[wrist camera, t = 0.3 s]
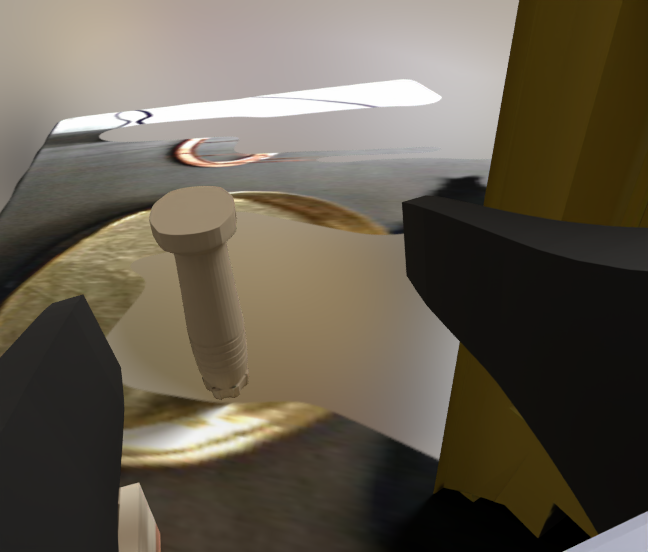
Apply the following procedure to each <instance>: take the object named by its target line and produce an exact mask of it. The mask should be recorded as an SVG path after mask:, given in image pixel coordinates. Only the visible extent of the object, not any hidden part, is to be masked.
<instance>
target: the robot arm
mask: <svg viewBox="0 0 648 552" xmlns="http://www.w3.org/2000/svg"><path fill="white" fill-rule="evenodd" d="M402 210H403V226H404V241H405V257H406V272H407V277H408V278H409V280H410V281H411V283H412V284H413V286H414V287H415V289H416V290H417V292H418V294H419V295H420V296H421V298H422V299H423V301H424V302H425V304H426V305H427V306H428V307H429V308H430V310H431V311H432V312H433V313H434V314H435V315H436V316H437V317H438V318H439V320H441V322H442V323H443V324H444V325H445V326H446V327H447V328H448V329H449V330H450V331H451V333H453V335H455V337H456V338H457V339H458V340H459V341H460V342H461V343H462V344H463V345H464V346H465V348H466V349H467V350H468V351H469V352H470V353H471V354H472V355H473V356H474V357H475V358H476V359H477V360H478V361H479V363H480V364H481V365H482V366H483V367H484V368H485V369H486V370H487V372H488V373H489V374H490V375H491V376H492V377H493V379H494V380H495V381H496V382H497V383H498V385H499V386H500V388H501V389H502V390H503V392H504V393H505V394H506V396H507V397H508V398H509V400H510V401H511V402H512V404H513V405H514V406H515V408H516V409H517V411H518V412H519V413H520V415H521V416H522V417H523V419H524V420H525V422H526V423H527V425H528V426H529V427H530V429H531V430H532V432H533V433H534V435H535V436H536V438H537V439H538V440H539V442H540V443H541V445H542V446H543V448H544V449H545V450H546V452H547V454H548V455H549V457H550V458H551V460H552V461H553V463H554V464H555V466H556V467H557V469H558V470H559V472H560V474H561V475H562V477H563V478H564V480H565V481H566V483H567V484H568V486H569V487H570V489H571V490H572V492H573V494H574V495H575V497H576V498H577V500H578V502H579V503H580V505H581V507H582V508H583V510H584V512H585V513H586V515H587V517H588V518H589V520H590V521H591V523H592V525H593V526H594V528H595V530H596V531H597V533H598V535H597V536H595V537H593V538H591V539H589V540H586V541H584V542H582V543H580V544H578V545H576V546H574V547H572V548H570V549H568V550H566V551H563V552H648V228H644V227H620V226H605V225H595V224H585V223H575V222H567V221H560V220H553V219H547V218H541V217H535V216H529V215H524V214H519V213H514V212H509V211H504V210H499V209H494V208H490V207H485V206H481V205H476V204H472V203H467V202H463V201H458V200H453V199H448V198H443V197H436V196H422V197H419V198H415V199H412V200H408V201H405V202H402ZM123 425H124V395H123V384H122V375H121V367H120V365H119V363H118V361H117V359H116V357H115V355H114V353H113V351H112V349H111V347H110V345H109V344H108V342H107V340H106V338H105V336H104V334H103V332H102V330H101V328H100V326H99V324H98V322H97V320H96V318H95V316H94V314H93V312H92V311H91V309H90V307H89V305H88V303H87V301H86V299H85V297H84V295H80V296H76V297H73V298H69V299H66V300H62V301H59V302H55V303H52V304H51V305H50V306H49V307H47V308H46V309H45V310H44V311H43V312H42V313H41V314H40V315H39V316H38V317H37V318H36V319H35V320H34V322H33V323H32V324H31V325H30V326H29V327H28V328H27V329H26V330H25V331H24V332H23V333H22V335H21V336H20V337H19V338H18V339H17V340H16V341H15V342H14V343H13V344H12V345H11V347H10V348H9V349H8V350H7V351H6V352H5V353H4V354H3V355H2V356H1V357H0V552H119V545H118V499H119V484H120V470H121V456H122V441H123Z"/></svg>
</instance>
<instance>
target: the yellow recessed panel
mask: <svg viewBox="0 0 648 552" xmlns="http://www.w3.org/2000/svg"><path fill="white" fill-rule="evenodd" d="M484 206H485V207H490V208H494V209H499V210H504V211H509V212H514V213H519V214H524V215H529V216H535V217H541V218H547V219H553V220H560V221H567V222H575V223H585V224H595V225H605V226H620V227H644V228H648V0H519V5H518V10H517V16H516V22H515V28H514V34H513V39H512V45H511V51H510V56H509V62H508V68H507V74H506V79H505V85H504V91H503V97H502V103H501V108H500V114H499V120H498V126H497V131H496V137H495V143H494V149H493V154H492V160H491V166H490V171H489V177H488V183H487V189H486V194H485V200H484ZM442 488H447V489H452V490H457V491H459V492H461V493H462V494H463V495H464V496H466V497H467V498H468V499H469V500H471V501H472V502H474V501H476V500H477V499H479V498H480V497H482V498H485V499H488V500H491V501H494V502H497V503H500V504H503V505H505V506H506V507H507V508H508V509H509V510H510V511H511V512H512V513H513V514H514V515H515V516H516V517H517V518H518V519H519V520H520V521H521V522H522V523H523V524H524V525H525V526H526V527H527V528H528V529H529V530H530V531H531V532H532V533H533V534H534V535H535V536H536V537H537V538H539V537H541V536H542V535H543V534H544V533H546V532H547V531H548V530H550V529H551V528H552V527H553V526H555V525H556V524H557V523H558V522H560V521H561V520H562V519H563V518H565V517H566V516H567V515H568V516H569V517H570V518H571V519H572V520H573V521H574V522H575V523H576V524H577V525H578V526H579V527H581V528H582V529H583V530H584V531H585V532H586V533H587V534H588V535H589V536H590V537H591V538H593V537H595V536H597V535H598V533H597V531H596V530H595V528H594V526H593V525H592V523H591V521H590V520H589V518H588V517H587V515H586V513H585V512H584V510H583V508H582V507H581V505H580V503H579V502H578V500H577V498H576V497H575V495H574V494H573V492H572V490H571V489H570V487H569V486H568V484H567V483H566V481H565V480H564V478H563V477H562V475H561V474H560V472H559V470H558V469H557V467H556V466H555V464H554V463H553V461H552V460H551V458H550V457H549V455H548V454H547V452H546V450H545V449H544V448H543V446H542V445H541V443H540V442H539V440H538V439H537V438H536V436H535V435H534V433H533V432H532V430H531V429H530V427H529V426H528V425H527V423H526V422H525V420H524V419H523V417H522V416H521V415H520V413H519V412H518V411H517V409H516V408H515V406H514V405H513V404H512V402H511V401H510V400H509V398H508V397H507V396H506V394H505V393H504V392H503V390H502V389H501V388H500V386H499V385H498V383H497V382H496V381H495V380H494V379H493V377H492V376H491V375H490V374H489V373H488V372H487V370H486V369H485V368H484V367H483V366H482V365H481V364H480V363H479V361H478V360H477V359H476V358H475V357H474V356H473V355H472V354H471V353H470V352H469V351H468V350H467V349H466V348H465V346H464V345H463V344H462V343H461V342H460V344H459V350H458V355H457V362H456V367H455V373H454V379H453V384H452V390H451V396H450V401H449V407H448V413H447V419H446V424H445V430H444V436H443V442H442V448H441V453H440V459H439V465H438V470H437V476H436V482H435V488H434V493H433V494H435V493H436V492H438V491H439V490H441V489H442Z"/></svg>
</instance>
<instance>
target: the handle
mask: <svg viewBox="0 0 648 552" xmlns="http://www.w3.org/2000/svg"><path fill="white" fill-rule="evenodd" d="M149 221H150V225H151V230H152V233H153V236H154V238H155V240H156V242H157V243H158V245H159V246H160V247H161V248H162V249H163V250H164V251H167V252H170V253H174V256H175V260H176V266H177V271H178V277H179V283H180V288H181V294H182V300H183V306H184V313H185V319H186V325H187V331H188V335H189V339H190V343H191V347H192V351H193V354H194V357H195V360H196V363H197V366H198V368H199V371H200V373H201V375H202V379H203V382H204V384H205V386H206V388H207V389H208V390H210V391H212V392H213V395H214V397H215V398H216V399H221V400H222V399H223V398H227V397H233V398H235V397H237V396H239V395H240V391H241V389H242V388H243V387H244V386H246V385H247V384H248V379H249V370H248V368H247V361H248V357H247V356H248V355H247V341H246V333H245V326H244V319H243V315H242V311H241V306H240V302H239V298H238V293H237V289H236V285H235V280H234V276H233V271H232V267H231V262H230V258H229V253H228V248H227V241H228V239H230V238H231V237H232V236H233V235H234V233H235V232H236V229H237V220H236V210H235V203H234V199H233V197H232V196H231V195H230V194H229V193H228V192H227V191H225V190H224V189H223V188H221V187H215V186H196V187H188V188H182V189H178V190H174V191H171V192H169V193H168V194H166V195H165V196H163V197H162V198H161V199H160V200H158V201H157V202H156V203H155V204H154V205H153V207H152V210H151V213H150V216H149Z"/></svg>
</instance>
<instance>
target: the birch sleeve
mask: <svg viewBox="0 0 648 552" xmlns="http://www.w3.org/2000/svg"><path fill="white" fill-rule="evenodd" d="M118 545H119V552H161V549H160V532H159V530H158V527H157V525H156V523H155V520H154V518H153V515H152V513H151V510H150V508H149V506H148V503H147V501H146V498H145V496H144V493H143V491H142V489H141V486H140V484H139V483H136V484H132V485H129V486H125V487H121V488H119V499H118Z"/></svg>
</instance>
